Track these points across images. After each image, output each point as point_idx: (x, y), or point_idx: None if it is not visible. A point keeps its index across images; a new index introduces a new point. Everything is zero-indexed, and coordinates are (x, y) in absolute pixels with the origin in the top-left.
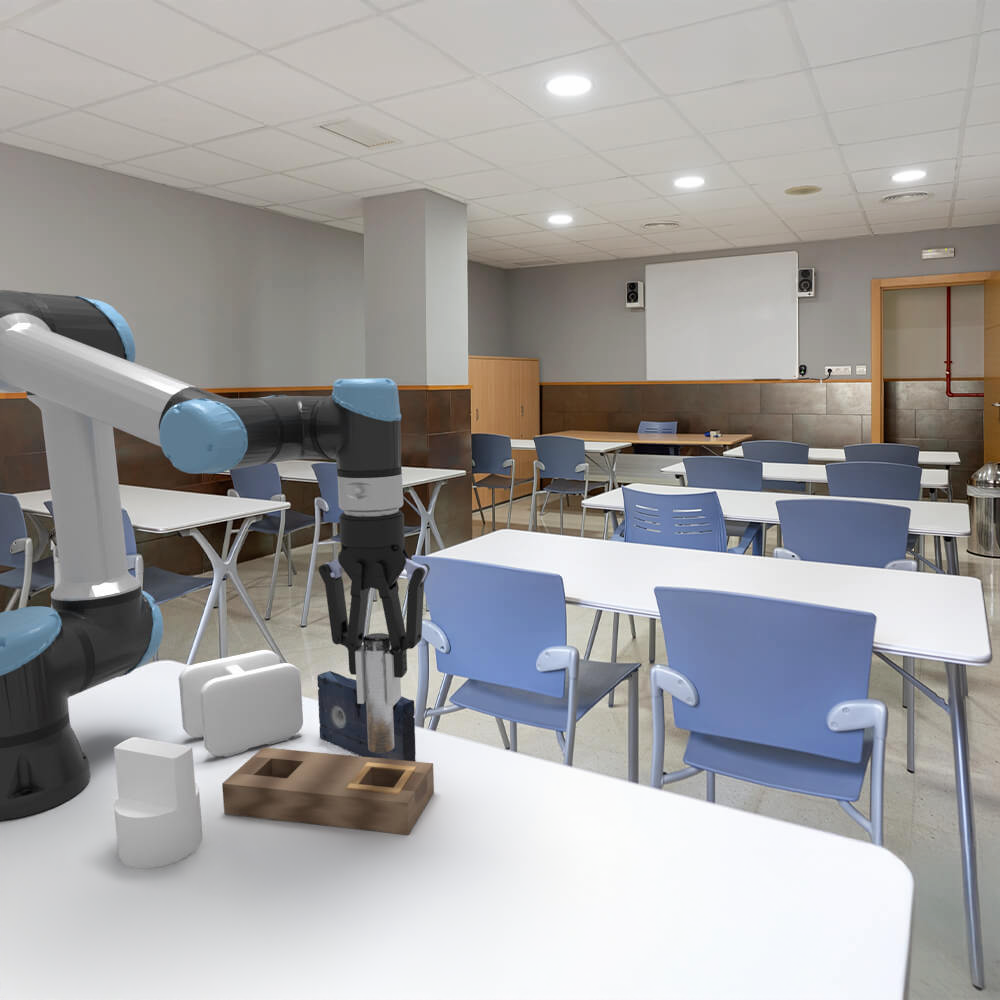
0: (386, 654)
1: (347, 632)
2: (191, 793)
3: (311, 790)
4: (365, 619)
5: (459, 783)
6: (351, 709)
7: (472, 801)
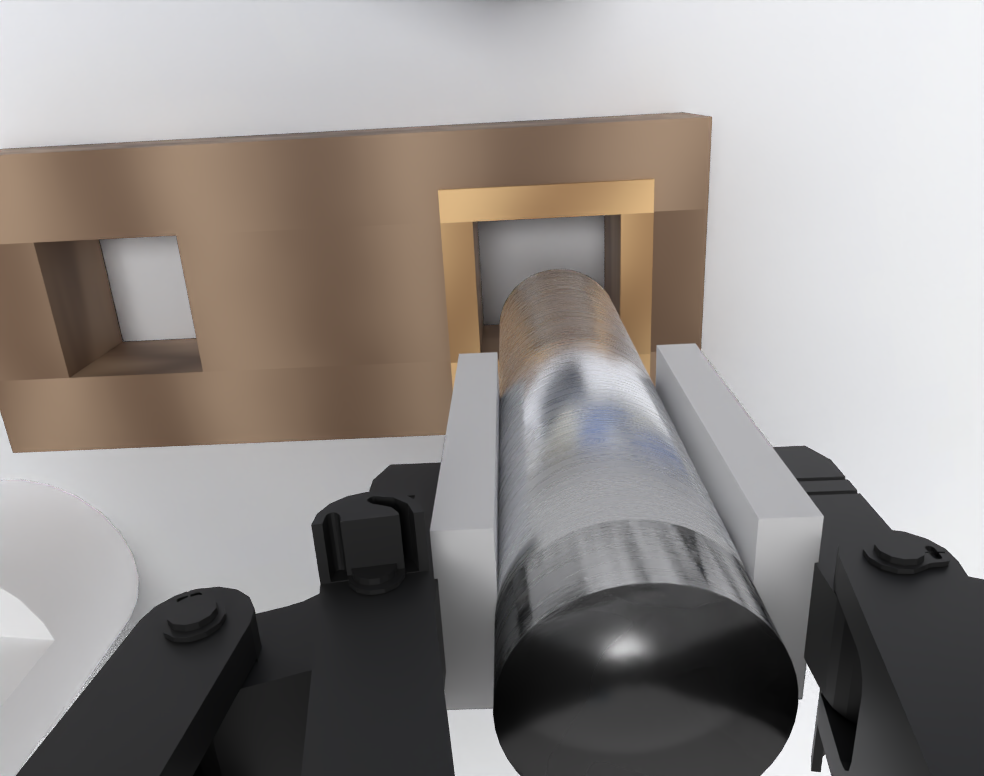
0: None
1: (259, 703)
2: (50, 676)
3: (338, 424)
4: (451, 766)
5: (764, 14)
6: None
7: (838, 139)
